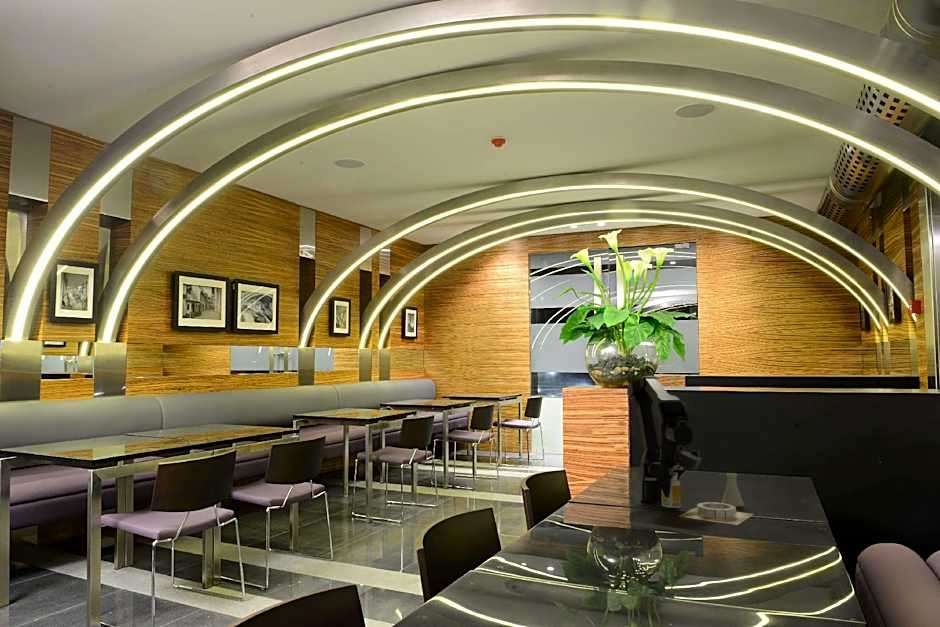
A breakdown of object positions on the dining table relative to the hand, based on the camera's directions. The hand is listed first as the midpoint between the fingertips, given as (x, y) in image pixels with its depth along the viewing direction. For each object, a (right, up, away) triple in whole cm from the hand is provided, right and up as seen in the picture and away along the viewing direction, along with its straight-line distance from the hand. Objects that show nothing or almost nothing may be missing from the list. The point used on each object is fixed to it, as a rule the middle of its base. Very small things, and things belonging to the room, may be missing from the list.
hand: (670, 495), depth 194 cm
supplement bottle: (0, -3, 0) cm, 3 cm away
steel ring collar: (+10, -3, -8) cm, 14 cm away
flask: (+21, -6, +6) cm, 22 cm away
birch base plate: (+10, -4, -8) cm, 14 cm away
